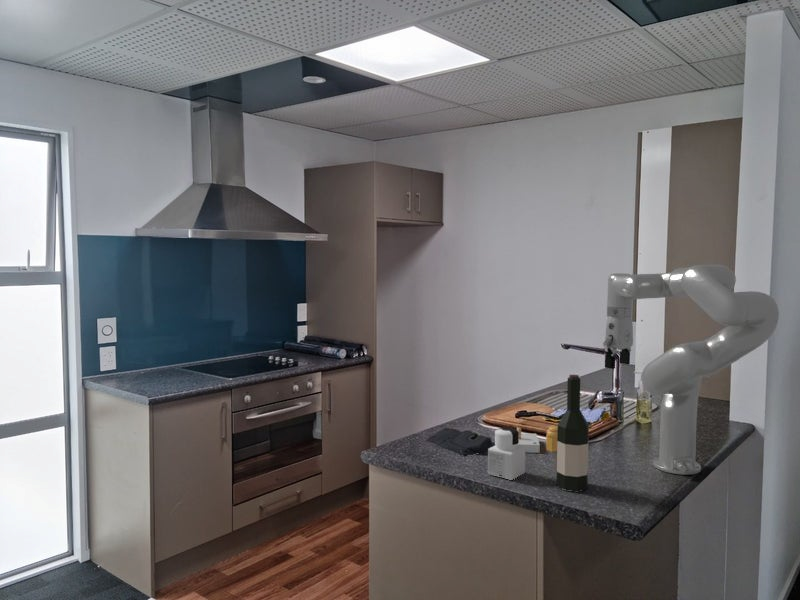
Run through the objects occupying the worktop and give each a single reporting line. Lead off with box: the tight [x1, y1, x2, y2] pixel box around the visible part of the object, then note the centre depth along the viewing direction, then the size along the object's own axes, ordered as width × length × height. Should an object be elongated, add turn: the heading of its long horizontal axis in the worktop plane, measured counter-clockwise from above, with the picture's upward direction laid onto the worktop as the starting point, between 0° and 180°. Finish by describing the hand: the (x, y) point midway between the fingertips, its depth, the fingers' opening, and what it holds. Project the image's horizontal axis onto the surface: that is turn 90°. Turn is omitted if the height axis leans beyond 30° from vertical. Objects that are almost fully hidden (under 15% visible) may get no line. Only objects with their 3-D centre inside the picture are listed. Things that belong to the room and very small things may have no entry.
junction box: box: [516, 426, 541, 454], centre depth 203 cm, size 18×12×6 cm, turn 173°
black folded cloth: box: [425, 427, 495, 457], centre depth 202 cm, size 15×22×5 cm
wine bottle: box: [556, 374, 590, 491], centre depth 165 cm, size 8×8×30 cm
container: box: [487, 427, 526, 481], centre depth 175 cm, size 8×8×13 cm
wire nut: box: [545, 425, 558, 453], centre depth 197 cm, size 5×5×7 cm
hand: (617, 365), depth 198 cm, fingers open, 9 cm apart
